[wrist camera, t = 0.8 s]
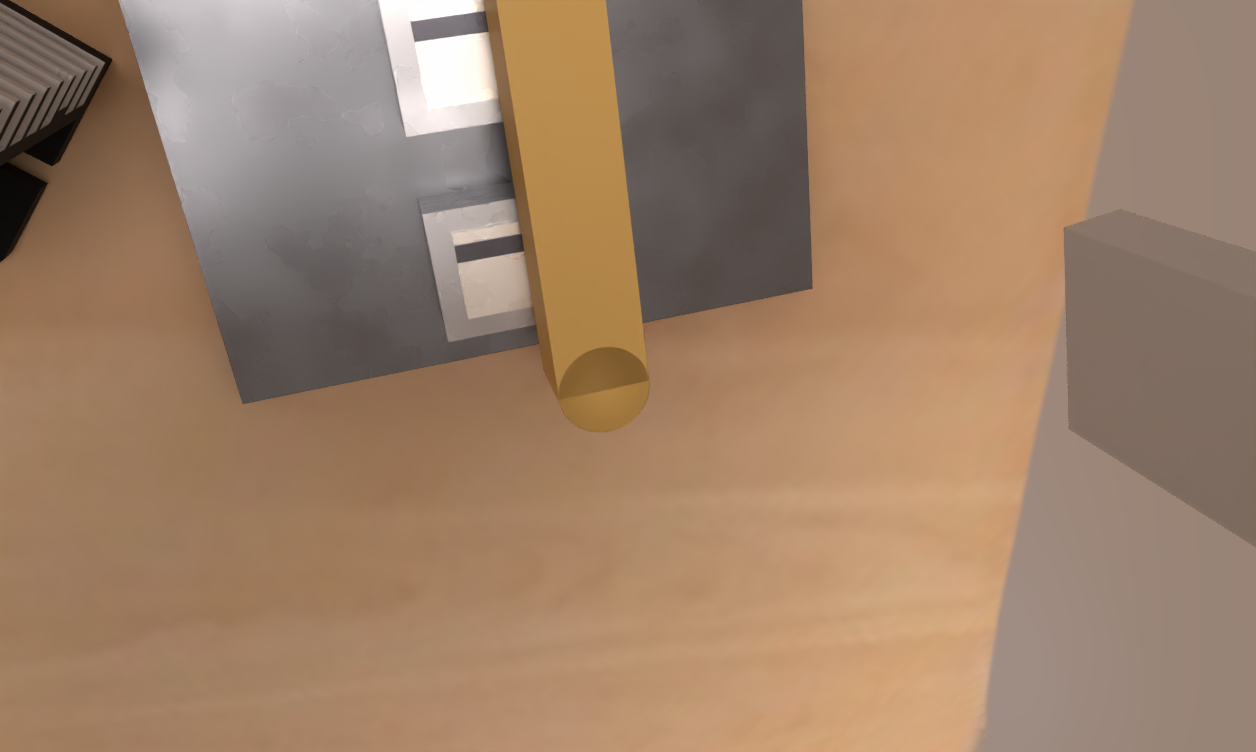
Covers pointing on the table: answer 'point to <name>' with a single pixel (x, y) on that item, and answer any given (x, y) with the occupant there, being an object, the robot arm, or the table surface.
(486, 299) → the chassis plate
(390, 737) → the table surface
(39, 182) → the electronic device
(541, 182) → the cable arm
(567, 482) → the table surface
